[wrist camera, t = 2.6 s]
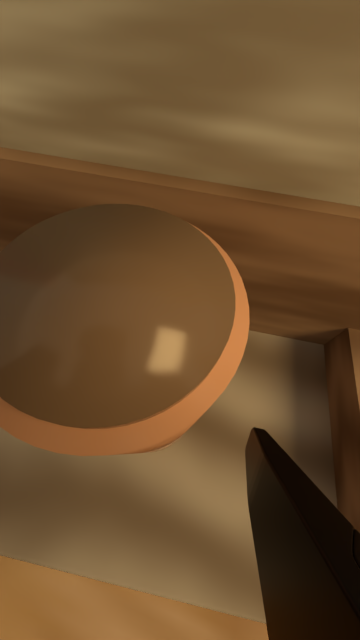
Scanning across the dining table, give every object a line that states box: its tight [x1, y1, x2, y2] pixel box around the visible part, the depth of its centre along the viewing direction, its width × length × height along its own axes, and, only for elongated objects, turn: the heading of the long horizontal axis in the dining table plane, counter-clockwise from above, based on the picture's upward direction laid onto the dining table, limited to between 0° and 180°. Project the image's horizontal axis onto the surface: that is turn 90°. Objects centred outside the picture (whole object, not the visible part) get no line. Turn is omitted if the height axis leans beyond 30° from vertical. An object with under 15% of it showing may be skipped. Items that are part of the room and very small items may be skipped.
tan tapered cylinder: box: [0, 204, 250, 456], centre depth 11 cm, size 6×6×13 cm
